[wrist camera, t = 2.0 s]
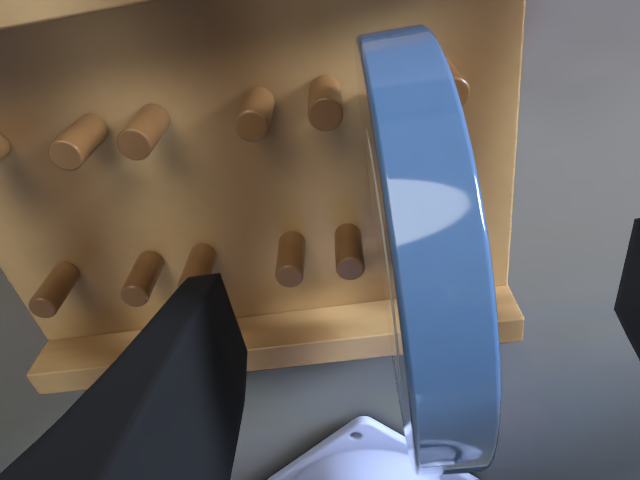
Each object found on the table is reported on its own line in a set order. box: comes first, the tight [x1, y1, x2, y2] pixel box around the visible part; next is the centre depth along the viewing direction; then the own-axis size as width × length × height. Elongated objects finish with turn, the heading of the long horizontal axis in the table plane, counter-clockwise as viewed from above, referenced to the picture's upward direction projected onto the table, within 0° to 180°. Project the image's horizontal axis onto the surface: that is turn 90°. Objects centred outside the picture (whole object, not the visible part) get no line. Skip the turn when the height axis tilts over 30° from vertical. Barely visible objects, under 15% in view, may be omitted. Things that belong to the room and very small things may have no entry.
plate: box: [355, 24, 501, 477], centre depth 10 cm, size 1×8×8 cm, turn 9°
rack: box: [0, 0, 526, 395], centre depth 14 cm, size 16×12×3 cm
